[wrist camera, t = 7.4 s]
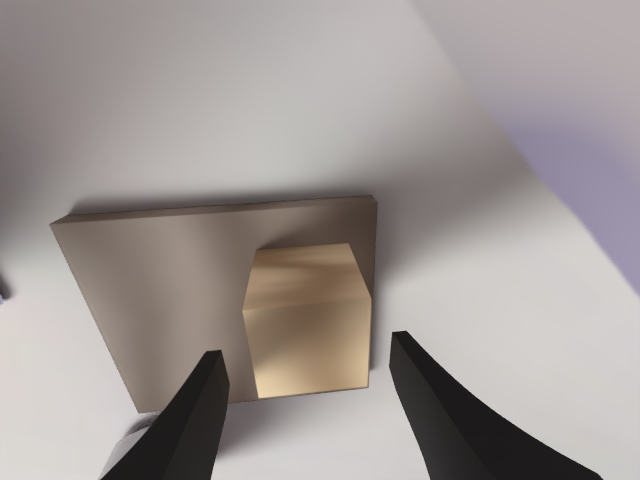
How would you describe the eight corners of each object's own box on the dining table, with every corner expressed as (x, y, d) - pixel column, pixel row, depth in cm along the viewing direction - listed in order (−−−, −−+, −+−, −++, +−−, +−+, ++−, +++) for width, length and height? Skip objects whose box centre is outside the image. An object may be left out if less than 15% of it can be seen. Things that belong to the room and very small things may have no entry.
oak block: (266, 323, 18) (258, 398, 13) (255, 250, 16) (242, 310, 11) (348, 315, 18) (367, 386, 14) (348, 243, 16) (371, 298, 12)
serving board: (146, 397, 21) (138, 413, 20) (66, 215, 15) (49, 224, 14) (364, 374, 22) (368, 388, 21) (371, 195, 16) (377, 202, 15)
